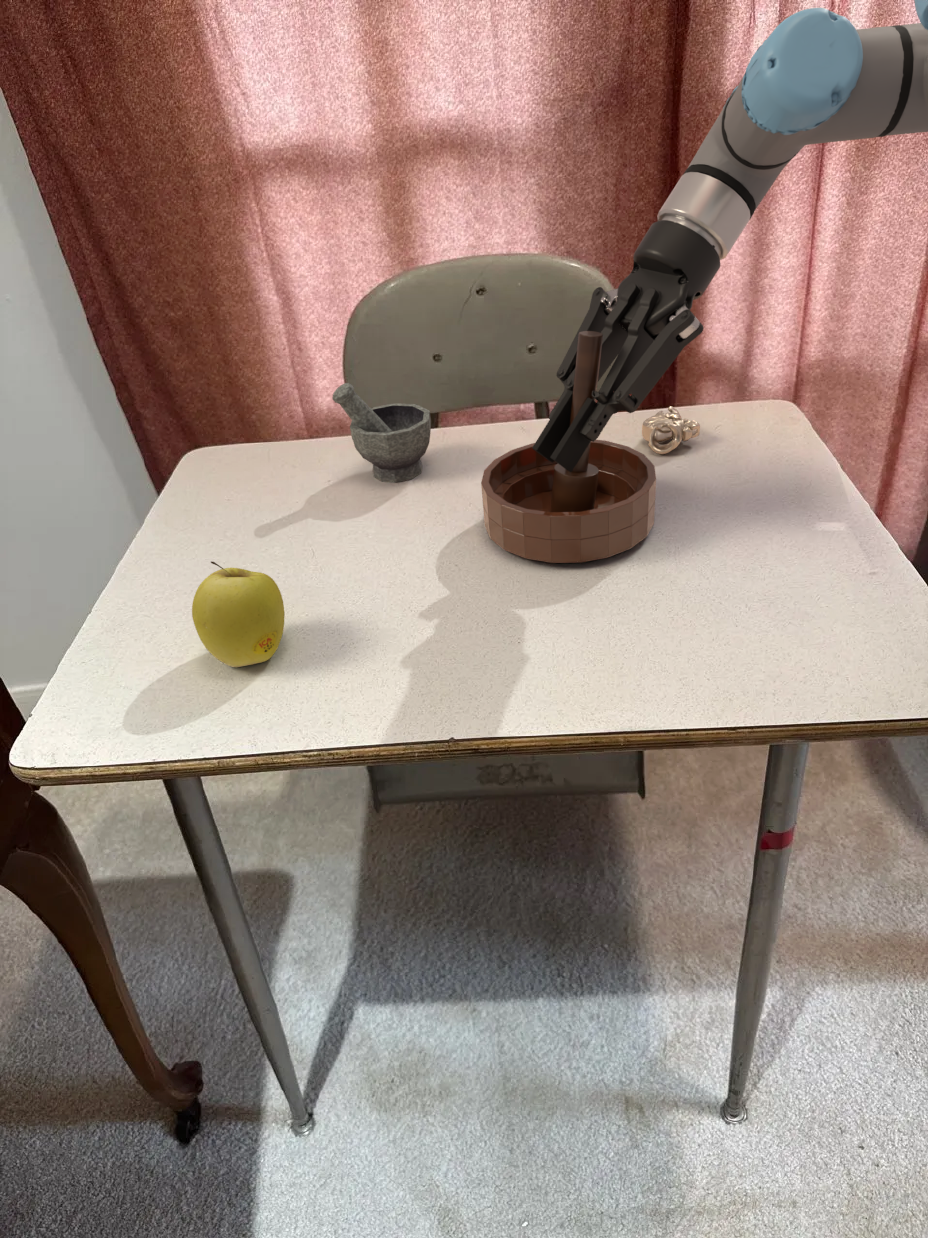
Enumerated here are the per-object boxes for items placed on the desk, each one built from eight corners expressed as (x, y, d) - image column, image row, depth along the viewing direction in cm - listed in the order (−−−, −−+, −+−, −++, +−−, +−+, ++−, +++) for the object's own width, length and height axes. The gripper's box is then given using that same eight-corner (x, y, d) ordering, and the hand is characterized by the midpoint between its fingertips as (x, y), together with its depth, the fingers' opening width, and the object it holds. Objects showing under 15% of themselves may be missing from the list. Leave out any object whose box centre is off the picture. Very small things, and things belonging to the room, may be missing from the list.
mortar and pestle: (426, 448, 108) (414, 357, 102) (446, 477, 101) (435, 380, 94) (341, 467, 106) (323, 374, 99) (355, 497, 99) (337, 400, 92)
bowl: (658, 568, 81) (661, 514, 77) (477, 570, 83) (472, 517, 80) (648, 485, 95) (650, 435, 91) (494, 489, 98) (490, 441, 94)
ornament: (699, 456, 99) (701, 427, 97) (640, 456, 101) (641, 428, 99) (698, 429, 106) (700, 401, 104) (642, 429, 107) (643, 402, 105)
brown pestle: (597, 523, 84) (620, 339, 75) (554, 524, 84) (572, 338, 74) (587, 506, 88) (608, 328, 79) (546, 506, 87) (562, 327, 78)
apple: (231, 689, 70) (186, 579, 66) (204, 669, 76) (163, 568, 73) (315, 650, 73) (277, 544, 70) (283, 634, 80) (246, 536, 77)
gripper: (770, 278, 75) (625, 503, 78) (651, 254, 86) (528, 453, 89) (734, 225, 70) (580, 468, 73) (612, 207, 81) (482, 419, 84)
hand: (551, 459), depth 81 cm, fingers closed on brown pestle, 2 cm apart
